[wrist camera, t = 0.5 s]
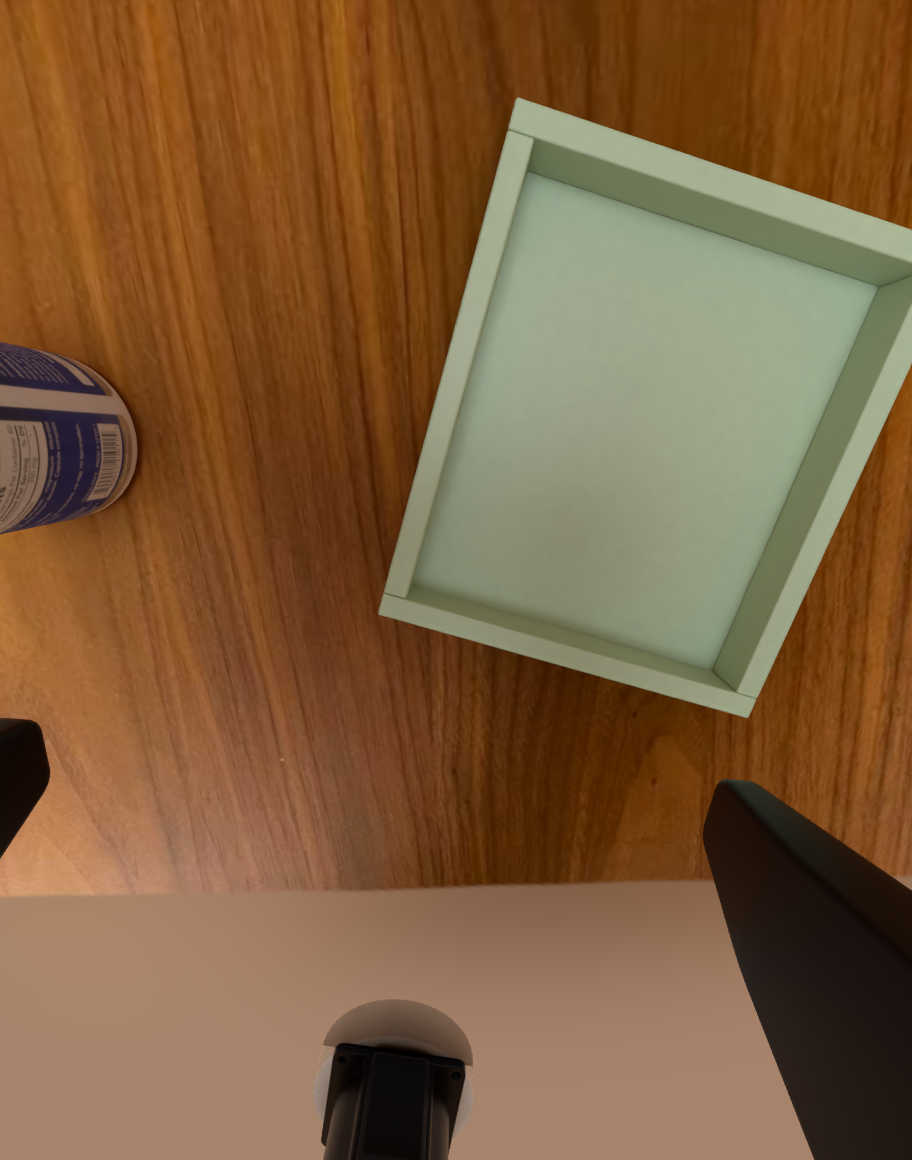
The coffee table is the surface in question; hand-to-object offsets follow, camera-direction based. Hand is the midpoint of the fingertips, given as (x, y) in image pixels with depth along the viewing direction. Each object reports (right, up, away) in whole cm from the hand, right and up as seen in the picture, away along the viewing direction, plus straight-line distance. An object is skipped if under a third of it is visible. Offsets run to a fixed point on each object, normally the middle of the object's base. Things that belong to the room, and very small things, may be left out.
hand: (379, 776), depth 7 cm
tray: (+7, +7, +12) cm, 16 cm away
